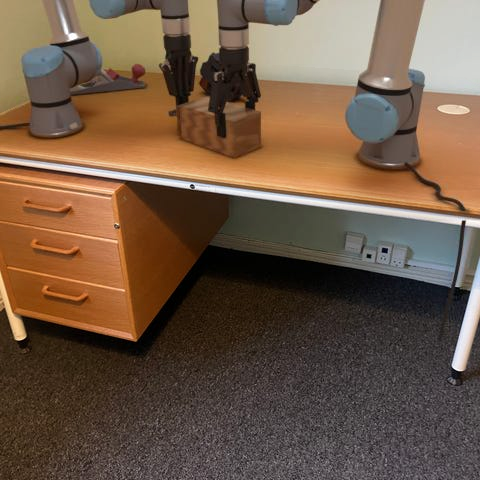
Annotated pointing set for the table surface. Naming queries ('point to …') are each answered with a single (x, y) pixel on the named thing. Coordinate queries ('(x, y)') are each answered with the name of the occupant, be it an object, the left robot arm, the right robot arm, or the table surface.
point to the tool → (206, 80)
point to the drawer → (177, 114)
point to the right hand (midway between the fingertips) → (236, 130)
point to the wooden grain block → (205, 131)
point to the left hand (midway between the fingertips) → (183, 117)
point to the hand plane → (111, 82)
